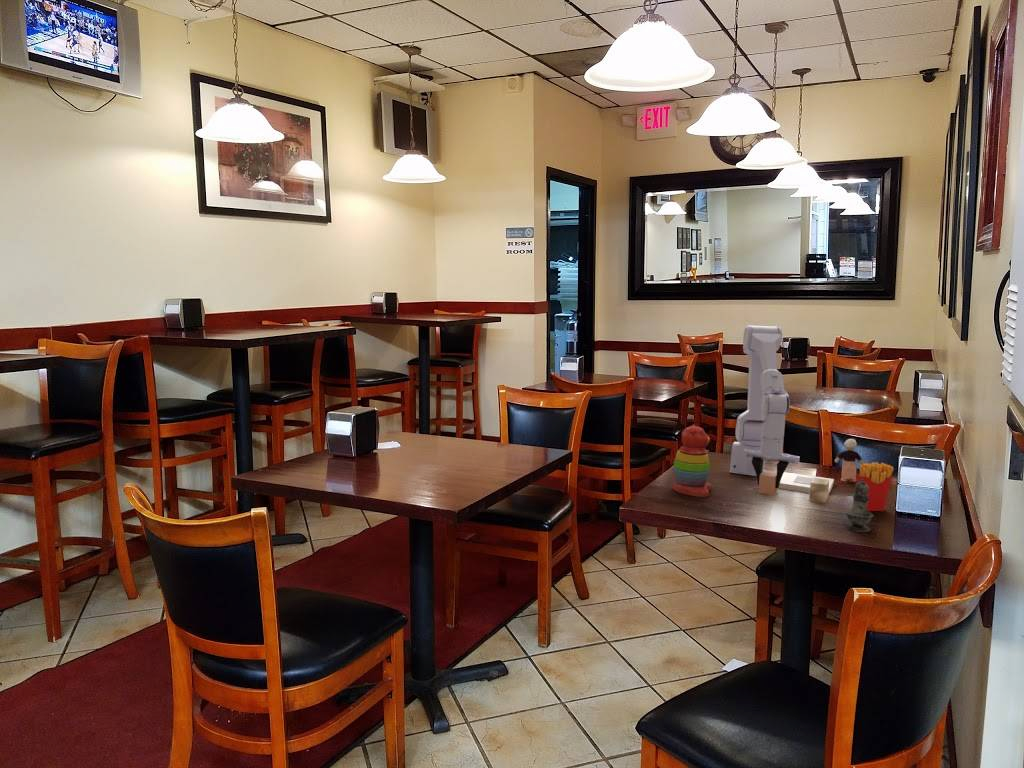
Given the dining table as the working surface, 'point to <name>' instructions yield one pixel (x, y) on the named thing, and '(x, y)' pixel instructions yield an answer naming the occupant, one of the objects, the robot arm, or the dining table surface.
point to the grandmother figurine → (849, 461)
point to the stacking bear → (692, 463)
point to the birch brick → (819, 490)
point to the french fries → (876, 484)
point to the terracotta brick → (767, 482)
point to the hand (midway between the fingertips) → (768, 486)
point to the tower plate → (800, 482)
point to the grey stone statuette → (859, 509)
